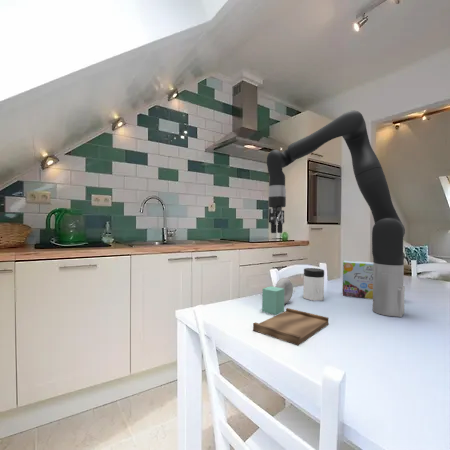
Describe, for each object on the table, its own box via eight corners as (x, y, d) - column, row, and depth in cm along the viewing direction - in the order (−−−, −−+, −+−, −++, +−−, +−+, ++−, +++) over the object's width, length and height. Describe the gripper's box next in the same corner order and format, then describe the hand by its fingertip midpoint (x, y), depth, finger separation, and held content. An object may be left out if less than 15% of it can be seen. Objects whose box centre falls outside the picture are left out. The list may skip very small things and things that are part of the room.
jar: (307, 301, 109) (308, 271, 109) (299, 295, 117) (299, 268, 117) (328, 300, 110) (329, 271, 110) (319, 295, 118) (319, 267, 118)
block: (284, 311, 95) (284, 288, 95) (275, 315, 91) (276, 291, 91) (270, 308, 99) (270, 286, 99) (262, 311, 95) (262, 288, 95)
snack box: (342, 296, 117) (343, 261, 117) (342, 293, 122) (342, 260, 122) (400, 302, 109) (400, 264, 109) (397, 298, 114) (397, 263, 114)
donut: (287, 300, 109) (287, 275, 109) (294, 302, 107) (294, 276, 107) (272, 305, 102) (272, 278, 102) (280, 307, 100) (280, 280, 100)
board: (328, 324, 83) (328, 317, 83) (298, 345, 68) (298, 337, 68) (287, 313, 93) (287, 307, 93) (253, 330, 78) (253, 323, 78)
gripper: (280, 194, 112) (280, 233, 112) (289, 197, 124) (289, 232, 124) (263, 195, 116) (263, 233, 116) (274, 198, 128) (274, 232, 128)
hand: (276, 233), depth 120 cm, fingers open, 8 cm apart
